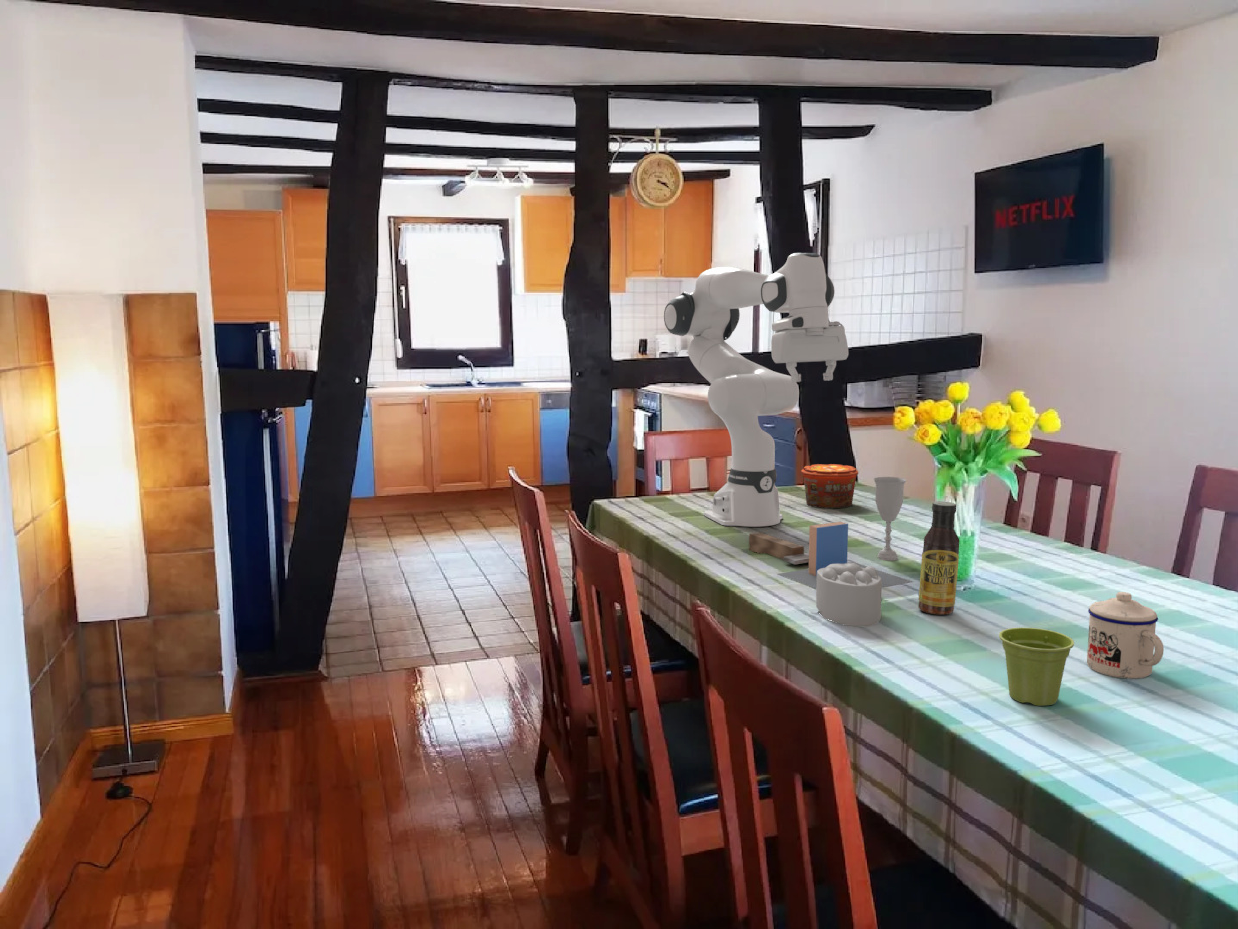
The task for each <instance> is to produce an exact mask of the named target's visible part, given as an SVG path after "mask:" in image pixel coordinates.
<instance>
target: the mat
mask: <svg viewBox="0 0 1238 929" xmlns="http://www.w3.org/2000/svg"><path fill="white" fill-rule="evenodd" d="M847 563H855V564H857V565H859V566H860V567H861V568H866V567H868V566H866V565H863V564H861V563H856V562H854V561H849V562H848V561H847ZM876 570H877V573H878V576H879V577H880V578H881V579H882V588H887V587H892V586H897V585H903V584H908V583H909V584H910V583H913V582H914V581H913V580H910V579H906V578H903V577H901V576H897V575H895V574H892V573H887V572H884V571H882V570H878V569H876ZM777 575H779V576H781V577H783V578H786V579H789V580H791V581H794V582H796V583H799V584H802V585H805V586H807V587H809V588H813V589H815V590H816V587H817V576H815V575H812V574H810V573H809V568H806V569H799V570H794V571H792V570H791V571H787V572H781V573H777Z"/></svg>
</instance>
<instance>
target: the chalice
mask: <svg viewBox="0 0 1238 929" xmlns="http://www.w3.org/2000/svg"><path fill="white" fill-rule="evenodd" d="M873 481H874V483H875V499H874V501H875V504H876V508H877V511H878V513H879V515H880V518H881V520H882V521H884V522H885V525H886V527H885V529H884V531H885V534H886V535H885V537H883V539H884V541H885V545H884V548H882V549H880V550H879V551H878V554H877V557H876V558H877V559H878V560H881V561H882V560H883V561H896V560H899V558H898V557H899V556H898V555H897V552H896V550H895V549H892V547H891V541H892V540H893V538H892V537H891V533H892V531H893V530H892V527H891V526H892V525H891V524H892V522H894V521H896V519H897V517H898V515H899V513H900V512H901V509H902V505H903V504H904V487H905V484H906V482H907V479H906V478H903V477H896V476H877V477H874V478H873Z"/></svg>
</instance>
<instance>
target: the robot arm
mask: <svg viewBox="0 0 1238 929" xmlns="http://www.w3.org/2000/svg"><path fill="white" fill-rule="evenodd" d="M834 297H835V285H834V282H833V281H832V279H831V278H830V277H829V275H828V274H827V273H826V268H825V263H824V261H823V258H822V256H821V254H819V253H816V252H793V253H790V255H788V256H787V260H786V262H785V263H784V264H783V266H781V267H780V268H779V269H778V270H776V271H774V273H771V274H769V275H768V274H766V273H765V274H763V273H760V272H756V271H752V270H747V269H745V268H741V267H740V268H739V267H735V266H718V267H716V266H715V267H712V268H709V269H706V270H704V271H702V272H701V273H700V274H699V276H697V279H696V283H695V289H694V291H692V292H691V293H689V292H687V291H683V292H682V293H681V294H680V295H678V296H676V297H674V298H673V299H671V300H670V301H669V302H668V303H667V305H666V306H665V308H664V312H663V321H664V326H665V327H666V329H667V331H668V333H670V334H672V335H675V336H681V337H683V336H692V337H693V338H692V340H691V341H690V343H689V344H688V347H687V348H688V350H687V353H688V357H689V359H690V362H691V363H692V364H693V367H694V368H695V369H696V370H697V372H698V373H699V374H700V375H701V376H702V377H704V378H705V380H706V381H708V382H709V384H710V385H709V387H708V388H709V389H708V391H707V402H708V406H709V408H710V409H711V411H712V412H713V413H714V414H716V415H717V417H718V418H720V419H721V420H722V421H723V424H725V426H726V428H727V431H728V434H729V437H730V443H731V468H730V469H726V471H727V472H726V475H728V477H727V482H725V484H724V485H723V486H722V487H721V488H720V489H719V490H717V492H715V493H714V494H713V498H712V509H708V510H705V511H703V516H705V517H706V518H709V519H710V520H712V521H714V522H716V523H718V524H719V525H720V526H721V525H722V526H728V527H729V526H731V527H732V526H733V527H734V526H735V527H739V526H740V527H750V528H751V527H752V528H753V527H755V528H756V527H769V526H775V525H778V524H780V523H781V520H782V519H783V518H784V517H783V514H782V513H780V512H781V511H780V497H779V489H778V487H776V485H775V483H776V482H777V468H775V462H776V461H775V457H776V456H775V454H776V452H775V451H776V449H775V447H776V446H775V445H776V443H775V440H774V438H773V436H772V435H771V434H769V433H768V432H766V431H765V430H763V429H762V428H761V425H760V422H759V417H760V416H762V417H763V416H776V415H781V414H784V413H786V412H790V411H791V410H793V409H794V408H796V405H797V404H798V401H799V398H800V389H799V386H798V383H800V382H802V374H801V373H798V371H797V369H796V367H797V365H798V364H797V363H810V362H811V363H812V362H825V366H826V370H825V372H823V373H822V376H823V381H833V379H834V374H833V373H834V372H835V369H836V367H837V361H844V360H845V361H846V360H847V358H848V357H849V354H850V353H849V347H848V346H849V345H848V340H847V336H846V331H845V330H846V329H845V326H844V325H843V324H842V323H841V322H840V321H829V310H828V309H829V306H830V305H831V304H832V302H833V300H834ZM760 305H763V306H764V307H765V309H767V310H768V311H769V312H771V313H772V312H773V313H779V314H781V313H783V314H785V313H788V314H789V315H788V316H786V317H783V318H781V319H778V320H776V321H774V322H772V324H771V330H772V332H774V333H773V334H772V336H771V340H770V341H771V345H770V346H771V348H770V349H771V358H772V360H773V362H774V363H775V364H785V366H786V370H787V371H788V373H789V374H790V375H789V374H788V375H787V374H784V373H780V372H777V371H773V370H771V369H769V368H768V367H766V366H763V365H760V364H758V363H756V362H754V361H751V360H749V359H748V358H746V357H744V356H743V355H741V354H740V353H739V352H738V351H737V350H735V348H733V347H732V346H731V345H730V344H728V343H727V342H726V340H728V339H730V338H731V336H732V334H733V332H734V331H735V330H736V328H737V326H738V324H739V321H740V315H741V314H740V313H741V312H740V309H743V308H749V307H754V306H760Z"/></svg>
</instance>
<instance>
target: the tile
mask: <svg viewBox="0 0 1238 929" xmlns="http://www.w3.org/2000/svg"><path fill="white" fill-rule="evenodd" d="M808 532H809V533H808V534H809V537H808V538H809V539H808V540H809V541H808V542H809V544H808V553H809V562H808V569H809V573H810V574H812V575H815V576H817V571H818V570H819V569H821V568H826V567H827V566H828V565H830V564H846V563H848V549H849V548H848V546H849V541H848V540H849V523H846V522H842V521H836V522H835V521H834V522H827V523H821V524H819V523H818V524H813V525H809V531H808Z"/></svg>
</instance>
